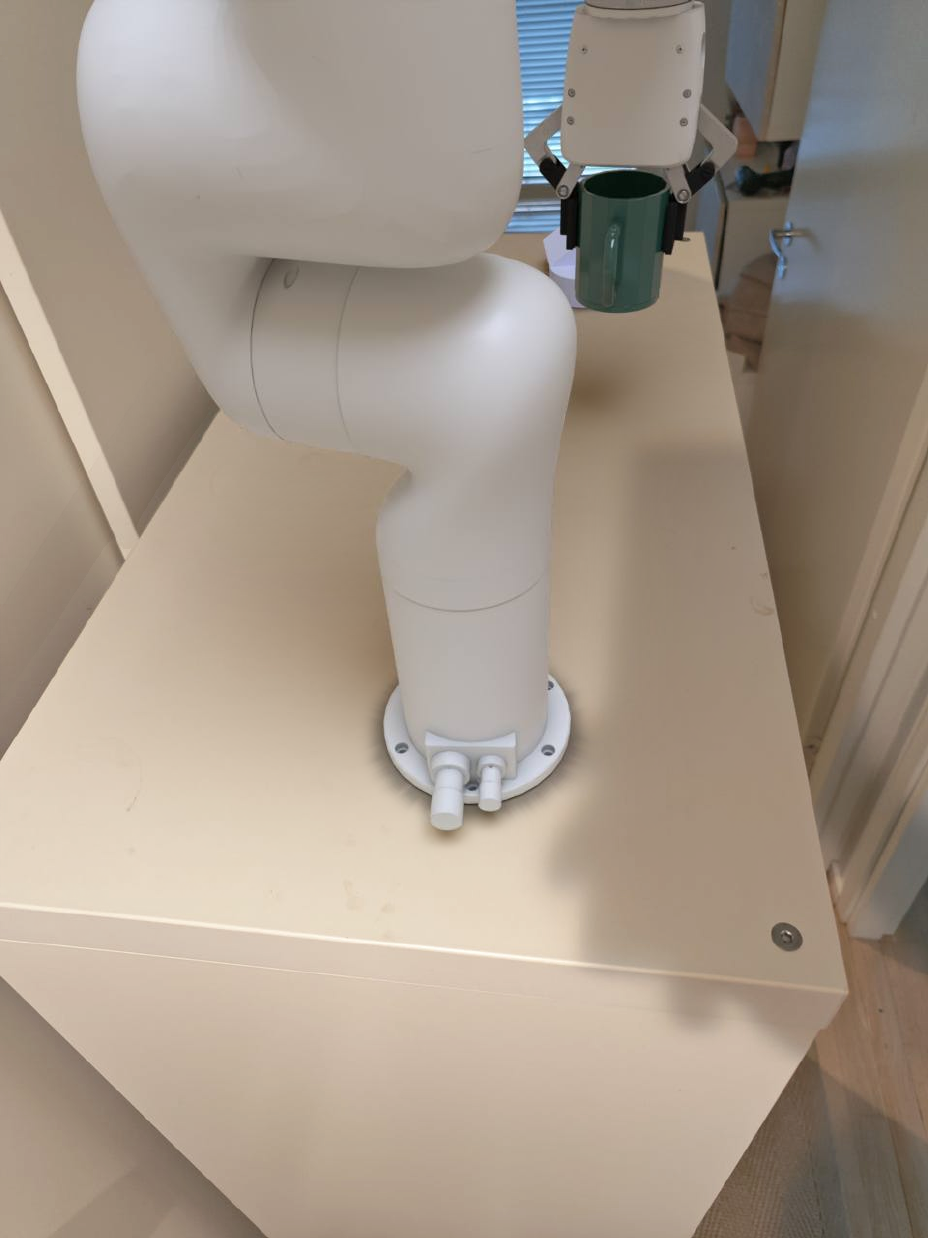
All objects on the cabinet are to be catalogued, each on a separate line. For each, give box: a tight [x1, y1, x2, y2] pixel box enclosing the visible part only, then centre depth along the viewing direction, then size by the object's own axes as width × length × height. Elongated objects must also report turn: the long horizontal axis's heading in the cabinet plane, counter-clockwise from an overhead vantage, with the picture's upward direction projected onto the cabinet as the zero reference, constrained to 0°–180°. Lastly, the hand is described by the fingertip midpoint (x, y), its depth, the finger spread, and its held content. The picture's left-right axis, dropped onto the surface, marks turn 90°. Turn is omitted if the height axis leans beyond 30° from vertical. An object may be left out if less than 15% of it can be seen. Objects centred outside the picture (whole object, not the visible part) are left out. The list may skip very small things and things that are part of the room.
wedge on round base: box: [542, 225, 587, 309], centre depth 104 cm, size 9×7×13 cm
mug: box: [575, 168, 672, 314], centre depth 69 cm, size 10×7×9 cm
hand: (620, 244), depth 70 cm, fingers closed on mug, 7 cm apart
